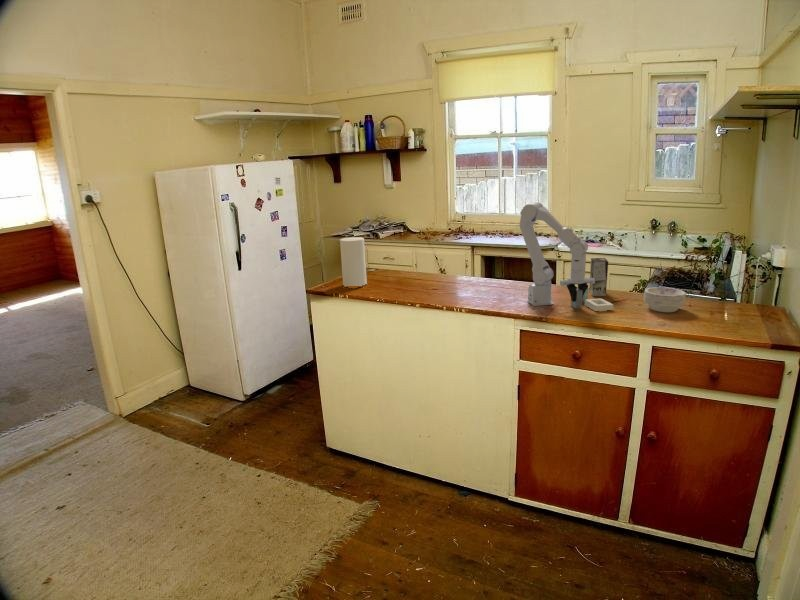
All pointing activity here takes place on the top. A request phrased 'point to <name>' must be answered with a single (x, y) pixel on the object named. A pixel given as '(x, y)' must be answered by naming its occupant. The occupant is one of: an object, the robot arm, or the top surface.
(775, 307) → the top surface
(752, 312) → the top surface
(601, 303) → the slot plate
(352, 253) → the cylinder
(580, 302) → the bar
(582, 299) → the grey upright block
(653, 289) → the light grey bowl
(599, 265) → the coffee box
